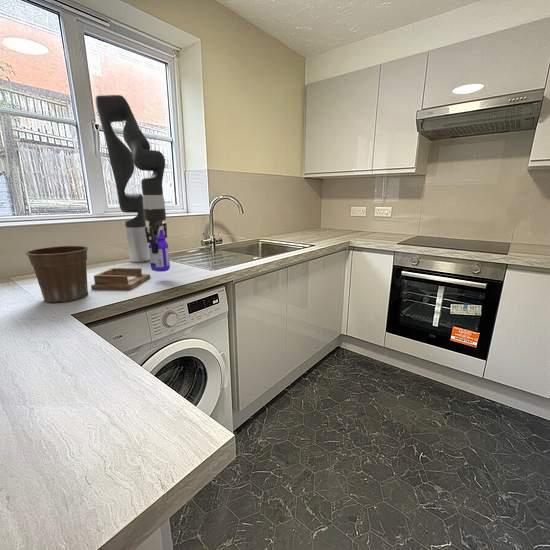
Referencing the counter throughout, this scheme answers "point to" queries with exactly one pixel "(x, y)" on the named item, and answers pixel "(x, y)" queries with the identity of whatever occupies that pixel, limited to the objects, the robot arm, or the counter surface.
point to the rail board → (119, 279)
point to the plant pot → (60, 272)
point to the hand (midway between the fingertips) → (159, 251)
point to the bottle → (160, 254)
